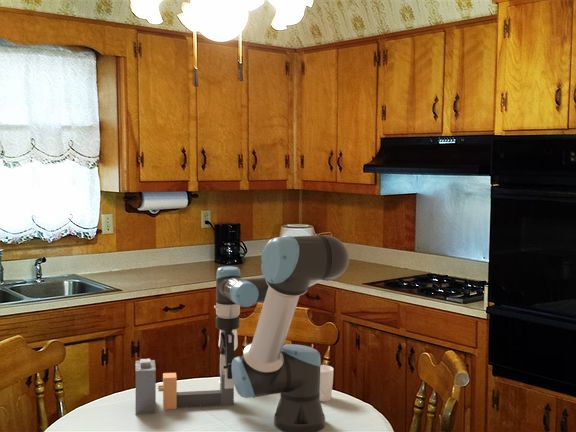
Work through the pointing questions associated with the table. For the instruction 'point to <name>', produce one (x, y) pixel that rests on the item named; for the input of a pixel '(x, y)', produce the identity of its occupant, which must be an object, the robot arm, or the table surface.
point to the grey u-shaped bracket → (145, 386)
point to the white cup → (326, 382)
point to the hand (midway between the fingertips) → (226, 381)
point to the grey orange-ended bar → (194, 394)
